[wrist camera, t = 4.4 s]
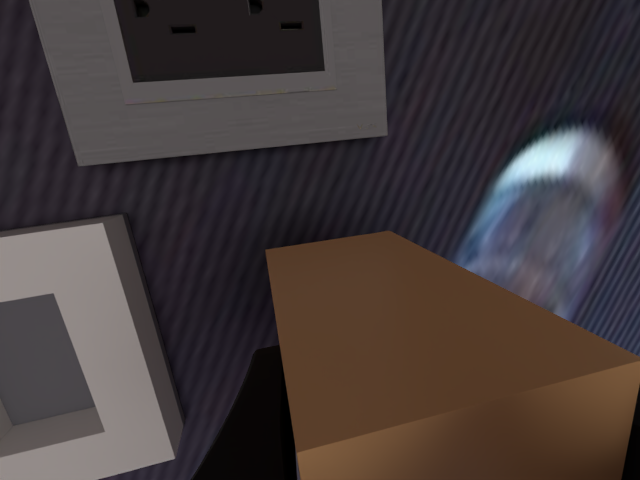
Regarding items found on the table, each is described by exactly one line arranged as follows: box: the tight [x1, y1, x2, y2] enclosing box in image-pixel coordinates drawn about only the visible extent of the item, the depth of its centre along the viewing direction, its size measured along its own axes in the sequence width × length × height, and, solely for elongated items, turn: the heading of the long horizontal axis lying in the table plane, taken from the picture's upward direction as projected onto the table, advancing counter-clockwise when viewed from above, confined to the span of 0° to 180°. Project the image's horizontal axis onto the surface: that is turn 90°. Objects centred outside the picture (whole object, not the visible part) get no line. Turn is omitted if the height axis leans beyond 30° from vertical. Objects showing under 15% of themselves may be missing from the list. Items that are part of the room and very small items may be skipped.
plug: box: [265, 231, 640, 480], centre depth 7 cm, size 6×4×7 cm, turn 6°
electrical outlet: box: [29, 0, 388, 166], centre depth 13 cm, size 13×10×2 cm
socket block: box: [0, 213, 185, 480], centre depth 14 cm, size 12×10×2 cm
